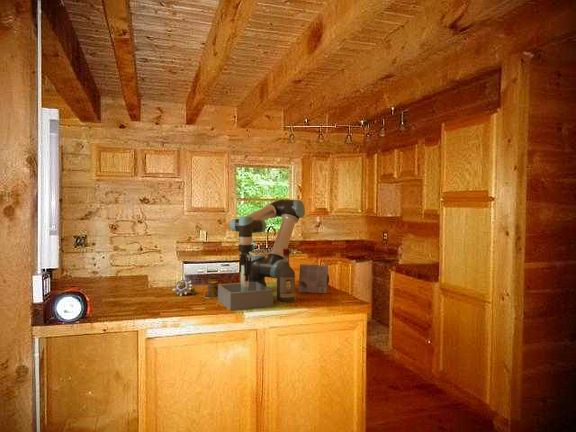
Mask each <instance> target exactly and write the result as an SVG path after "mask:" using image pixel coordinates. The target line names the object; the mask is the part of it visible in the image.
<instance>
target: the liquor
mask: <svg viewBox="0 0 576 432" xmlns="http://www.w3.org/2000/svg"><path fill="white" fill-rule="evenodd" d="M295 289H296V273H295V271H294V270H293V268H292V267H291V266H290V248H287V249H283V266H282V267H281V268H280V269H279V270H278V272H277V278H276V300H277V301H278V302H279V301H280V302H279V303H284V302H285V303H293V302H295V301H296V299H295V298H296V297H295V294H296V293H295V292H296V290H295ZM292 301H293V302H292Z"/></svg>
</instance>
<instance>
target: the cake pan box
mask: <svg viewBox="0 0 576 432" xmlns="http://www.w3.org/2000/svg"><path fill="white" fill-rule="evenodd" d="M298 275H299V276H298V279H299V280H298V292H299V293H307V292H308V293H310V294H327V293H328V285H329V281H330V277H329V265H322V264H305V263H301V264H299V273H298Z"/></svg>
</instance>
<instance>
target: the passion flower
mask: <svg viewBox="0 0 576 432" xmlns="http://www.w3.org/2000/svg"><path fill="white" fill-rule="evenodd" d="M191 283H192V280H188V281H187V279H186V278H184V277H183V279H181V280H178V281H176V283H175V286H174V288H172V289H171V291H172V292H173V291H174V292H175V291H176V295H177V296H178V295H179V297H182V296H183V295H187V294H188V291H190V292H191V295H193V296H194V295H195V294H196V290H195V286H194V283H192V284H191Z"/></svg>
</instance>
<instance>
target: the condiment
mask: <svg viewBox="0 0 576 432" xmlns="http://www.w3.org/2000/svg"><path fill="white" fill-rule="evenodd" d="M207 280H208V281H207V294H206V295H202V297H203V298H205V299H213V298H218V285H219V281H218V276H217V275H210V276H208V279H207Z"/></svg>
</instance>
